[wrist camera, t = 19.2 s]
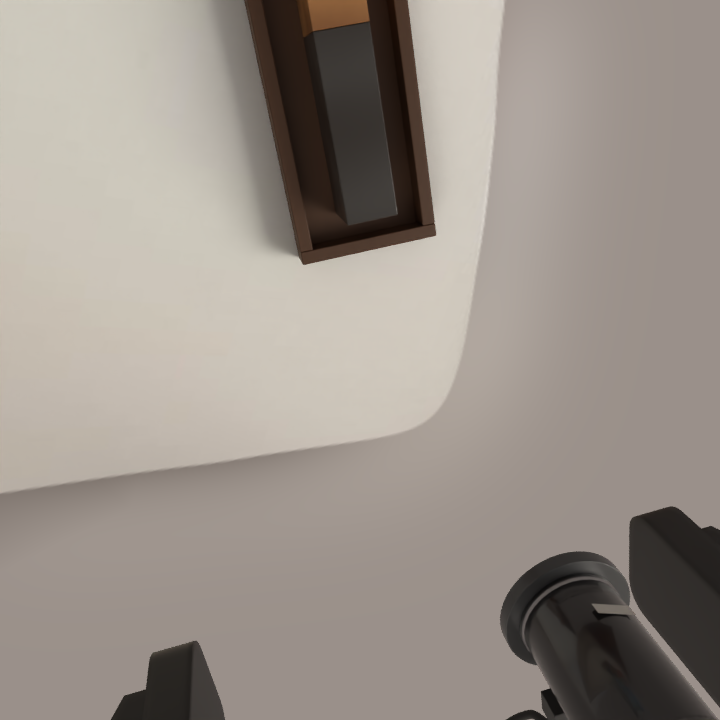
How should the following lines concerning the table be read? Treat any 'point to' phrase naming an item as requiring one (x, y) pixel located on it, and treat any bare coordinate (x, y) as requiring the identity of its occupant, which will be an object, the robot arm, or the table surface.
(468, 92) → the table surface
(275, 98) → the tool tray
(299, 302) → the table surface
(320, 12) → the whetstone
